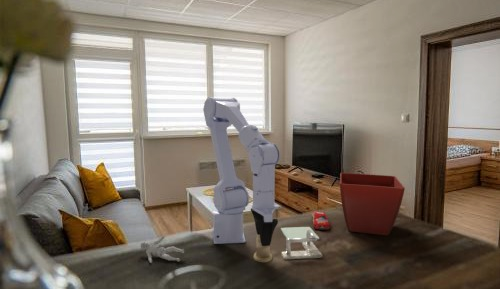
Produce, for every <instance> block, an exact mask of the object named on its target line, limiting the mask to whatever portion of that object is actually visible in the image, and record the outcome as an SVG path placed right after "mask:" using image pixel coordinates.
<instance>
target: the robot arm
mask: <svg viewBox="0 0 500 289" xmlns="http://www.w3.org/2000/svg"><path fill="white" fill-rule="evenodd" d="M202 111H203V115H204V116H203V117H204V120H205V125H206V126H207V127H208V128H209V132H210V136H211V142H212V148H213V152H214V153H213V154H214V158H215V162H216V167H217V171H218V172H217V173H218V178H219V181H218V182H217V184H216V185H215V186H214V187H213V204H214V207H215V209H216V210H214V211H213V214H212V215H213V228H212V230H211V231H212V233H211V234H212V236H213V244H214V245H218V244H219V245H223V244H243V243H246V237H245V234H244V211H246V207H248V206H249V204H250V194H249V192H248V191H249V190H248V189H247V187H246V184H245V182H244V181H243V180H241V179H239V178H238V177H237V174H236V169H235V164H234V160H233V155H232V150H231V145H230V140H229V136H228V131H227V129H228V128H229V127H231V126H233V127H234V129H236V130H237V132H238V136H237V137H238V140H239V141H240V142H241V144H242V145H243V147H244V149H245V150H247V152H248V156H247V157H248V161H249V164H250V171H251V173H252V205H251V208H250V212H251V213H252V216H253V220H254V224H255V230H256V231H255V232H256V236H257V235H259V234H260V240H261V245H262V246H270V247H271V244H272V240H273V239H272V238H273V234H274V231H275V229H276V227H277V225H278V224H279V220H278V219H277V218H273V214H274V213H275V210H279V208H280V206H279V205H278V204H275V187H276V186H275V183H276V181H275V179H276V178H275V177H276V176H275V175H276V173H275V172H276V165H277V164H278V163H279V161H280V158H281V152H280V149H279V147H278V146H277V144H276V143H273V142H270V141H268V140H266V138H265V137H264V136H263V134H262V133H261V132H260V130H259V128H258V127H257V126H256V125H253V124H249V123H248V120H246V118H245V117H244V115H243V113H242V112H241V104H240V102H239V101H238V99H236V97H231V98H229V97H213V96H208V97H206V99H205V100H204V105H203V110H202Z"/></svg>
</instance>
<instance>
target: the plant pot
mask: <svg viewBox="0 0 500 289" xmlns="http://www.w3.org/2000/svg"><path fill="white" fill-rule="evenodd" d="M339 177H340V178H339V191H340V200H341V206H342V214H343V218H344V221H345V226H346V229H347V231H348V232H353V233H364V234H372V235H373V234H374V235H380V236H381V235H382V236H389V235H390V234H391V231H392V230H393V227H394V225H395V223H396V220H397V217H398V215H399V212H400V210H401V206H402V202H403V197H404V194H405V191H406V190H405V186H404V185H403V184H402V182H400V180H399V179H398V178H397V177H396V176H395V175H384V174H383V175H382V174H367V173H351V172H350V173H349V172H340V174H339Z"/></svg>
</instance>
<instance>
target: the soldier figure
mask: <svg viewBox="0 0 500 289" xmlns="http://www.w3.org/2000/svg"><path fill="white" fill-rule="evenodd" d="M165 237H167V235H165V234H164V235H162V237H160V238H159V239H157V240H154V241H151V242H150V243H149V244H148V242H147V241H141V243H140V249H141V251H144V250H145V249H146V250H145V253H146V256H147V259H148V262H149V263H150V264H152V262H153V257H152V255H153V256H156V257H159V258H160V259H162V260H163V259H164V260H166V261H168V262H170V261H176V262H177V263H178V262H179V263H180V262H181V258H179V257H174V256H171V255H170V254H169V253H172V252H178V253H182V254H185V249H184V248H183V249H181V248H178V247H175V246H168V247H166V248H165V247H163V246H162V245H161V242H163V240H164V239H165Z"/></svg>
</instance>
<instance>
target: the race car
mask: <svg viewBox="0 0 500 289" xmlns="http://www.w3.org/2000/svg"><path fill="white" fill-rule="evenodd" d="M329 219H330V218H329V217H327V214H326V212H324V211H313V212H312V215H311V221H312V225H313V229H315V230H320V231H324V230H326V231H327V230H330V222H329Z"/></svg>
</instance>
